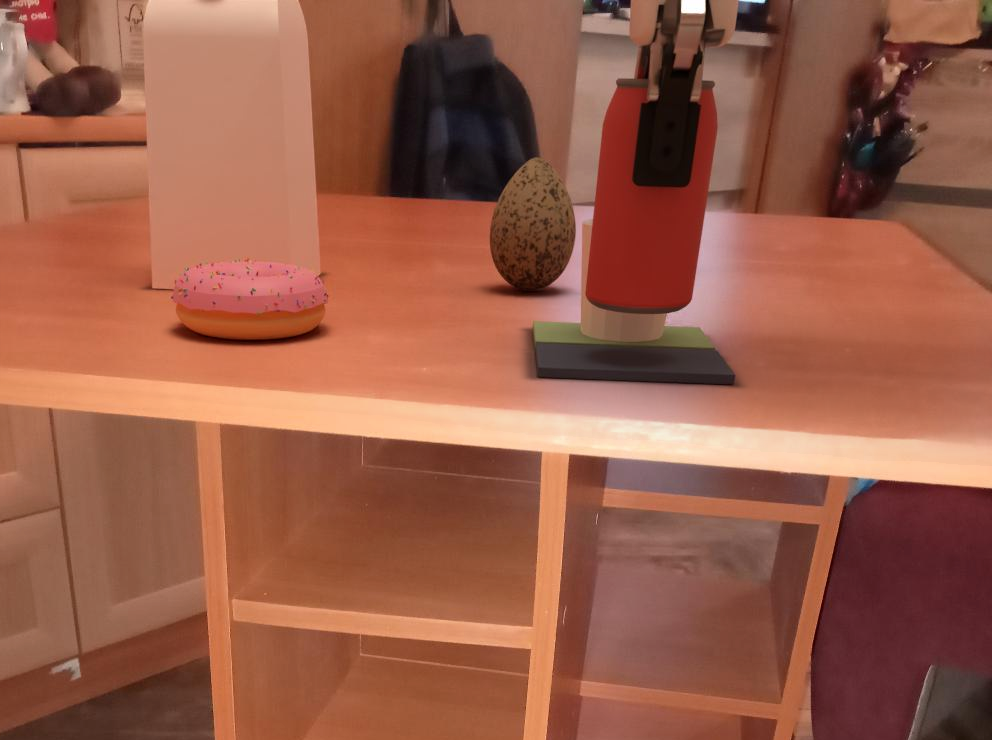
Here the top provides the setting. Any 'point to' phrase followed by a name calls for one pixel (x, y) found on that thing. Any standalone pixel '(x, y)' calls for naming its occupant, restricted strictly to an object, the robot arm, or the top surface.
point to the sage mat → (572, 336)
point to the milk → (228, 135)
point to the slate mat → (632, 364)
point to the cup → (611, 322)
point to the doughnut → (250, 300)
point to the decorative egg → (533, 227)
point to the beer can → (646, 215)
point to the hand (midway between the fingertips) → (653, 177)
